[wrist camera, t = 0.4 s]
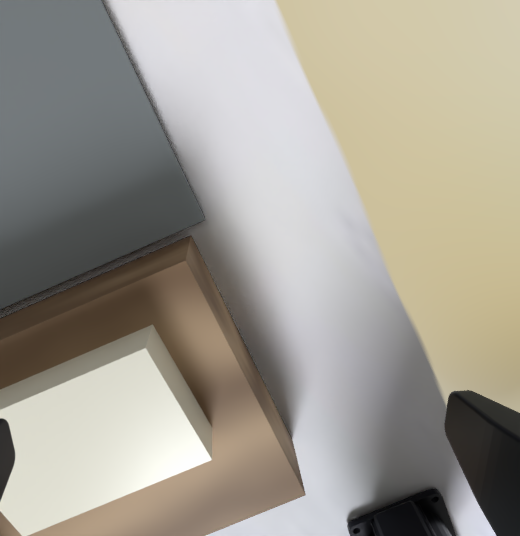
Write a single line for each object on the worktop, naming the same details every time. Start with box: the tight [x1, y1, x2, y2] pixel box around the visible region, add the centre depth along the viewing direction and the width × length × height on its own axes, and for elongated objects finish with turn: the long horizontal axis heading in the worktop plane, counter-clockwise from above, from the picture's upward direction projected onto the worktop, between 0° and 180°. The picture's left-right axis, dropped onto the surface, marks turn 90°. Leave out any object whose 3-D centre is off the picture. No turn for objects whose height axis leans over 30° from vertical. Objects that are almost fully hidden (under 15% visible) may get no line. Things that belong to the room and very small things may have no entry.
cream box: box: [0, 325, 212, 536], centre depth 18 cm, size 6×9×2 cm, turn 112°
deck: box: [0, 236, 305, 536], centre depth 22 cm, size 14×22×4 cm, turn 112°
